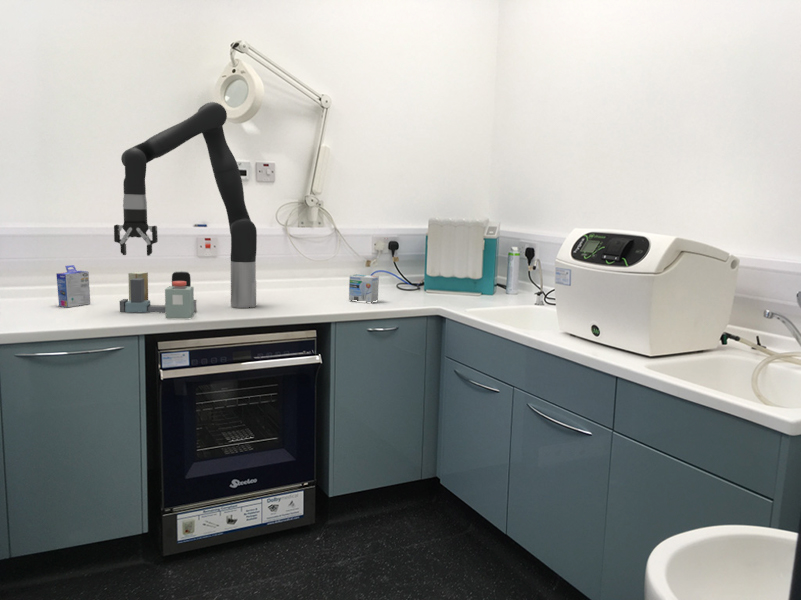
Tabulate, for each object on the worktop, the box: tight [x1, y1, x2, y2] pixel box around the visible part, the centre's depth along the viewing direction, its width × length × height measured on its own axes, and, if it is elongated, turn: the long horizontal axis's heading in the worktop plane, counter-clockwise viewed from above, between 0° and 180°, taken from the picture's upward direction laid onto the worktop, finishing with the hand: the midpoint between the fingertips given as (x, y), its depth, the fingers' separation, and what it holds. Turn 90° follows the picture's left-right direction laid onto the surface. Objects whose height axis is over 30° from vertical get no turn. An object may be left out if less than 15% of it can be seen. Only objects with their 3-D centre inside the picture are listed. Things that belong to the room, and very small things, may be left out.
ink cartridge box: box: [55, 265, 91, 308], centre depth 235 cm, size 10×6×14 cm, turn 155°
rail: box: [119, 298, 197, 314], centre depth 229 cm, size 25×5×4 cm, turn 98°
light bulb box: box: [348, 274, 380, 302], centre depth 266 cm, size 11×7×11 cm, turn 68°
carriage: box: [125, 278, 151, 313], centre depth 228 cm, size 7×6×11 cm
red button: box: [171, 281, 187, 289], centre depth 221 cm, size 5×5×10 cm
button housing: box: [164, 285, 195, 319], centre depth 221 cm, size 8×7×10 cm
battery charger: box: [171, 270, 192, 287], centre depth 253 cm, size 7×4×11 cm, turn 109°
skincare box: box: [127, 271, 149, 301], centre depth 240 cm, size 6×4×12 cm
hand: (136, 255), depth 225 cm, fingers open, 7 cm apart
